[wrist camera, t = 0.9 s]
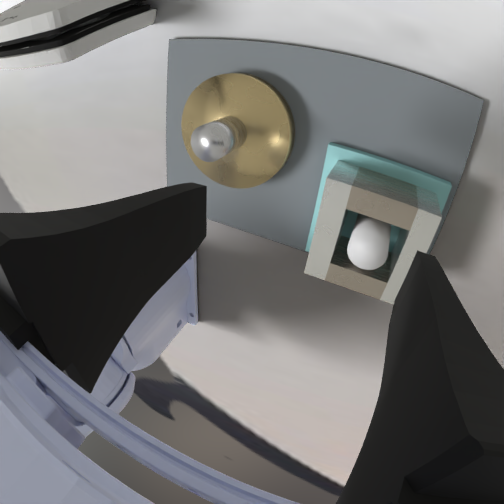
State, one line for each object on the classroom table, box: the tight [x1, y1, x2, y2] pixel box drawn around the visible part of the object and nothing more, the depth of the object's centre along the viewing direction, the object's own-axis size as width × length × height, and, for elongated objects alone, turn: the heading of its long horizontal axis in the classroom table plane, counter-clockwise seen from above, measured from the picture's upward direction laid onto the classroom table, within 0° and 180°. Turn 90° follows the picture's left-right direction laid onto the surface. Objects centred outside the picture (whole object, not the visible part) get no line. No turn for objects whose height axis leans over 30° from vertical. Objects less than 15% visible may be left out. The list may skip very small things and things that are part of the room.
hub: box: [181, 73, 295, 189], centre depth 17 cm, size 7×7×4 cm
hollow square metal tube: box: [304, 160, 442, 305], centre depth 16 cm, size 6×6×3 cm
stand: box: [305, 142, 452, 270], centre depth 16 cm, size 7×7×4 cm
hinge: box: [0, 0, 157, 70], centre depth 14 cm, size 17×5×10 cm, turn 75°
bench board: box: [166, 39, 484, 255], centre depth 18 cm, size 12×18×1 cm
